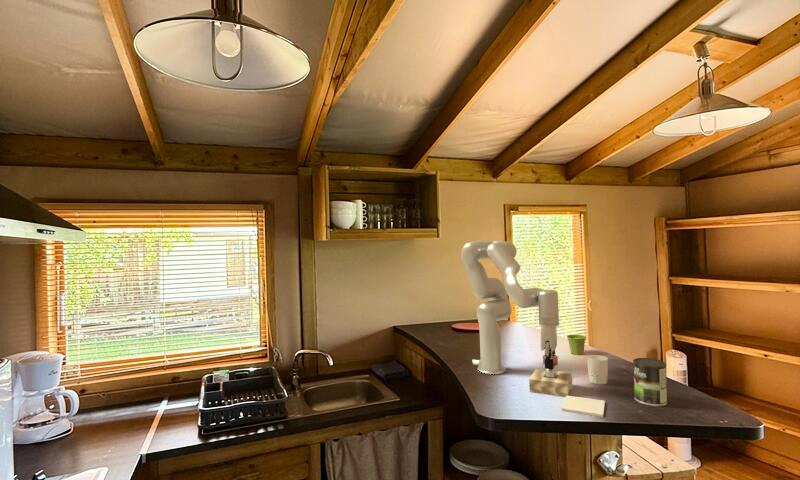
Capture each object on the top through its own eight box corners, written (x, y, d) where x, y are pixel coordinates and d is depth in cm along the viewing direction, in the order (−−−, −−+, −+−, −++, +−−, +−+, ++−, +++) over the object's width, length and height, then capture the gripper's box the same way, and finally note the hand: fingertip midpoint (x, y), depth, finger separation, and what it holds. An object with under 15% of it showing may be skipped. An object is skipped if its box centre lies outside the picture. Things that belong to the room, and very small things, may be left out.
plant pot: (567, 355, 210) (566, 338, 210) (567, 350, 219) (566, 334, 219) (587, 356, 207) (586, 339, 207) (586, 351, 215) (586, 334, 215)
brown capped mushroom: (542, 389, 164) (541, 357, 164) (545, 385, 169) (544, 353, 169) (557, 391, 162) (556, 359, 162) (559, 387, 167) (558, 355, 167)
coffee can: (646, 407, 145) (645, 366, 145) (628, 396, 155) (626, 358, 155) (674, 405, 145) (673, 365, 145) (654, 394, 156) (652, 356, 156)
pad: (561, 410, 144) (561, 408, 144) (566, 397, 156) (566, 395, 156) (603, 417, 138) (603, 414, 138) (604, 402, 150) (604, 400, 150)
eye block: (529, 391, 163) (529, 379, 163) (536, 380, 175) (536, 368, 175) (567, 397, 156) (567, 383, 156) (572, 385, 168) (571, 372, 168)
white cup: (611, 385, 166) (610, 360, 166) (590, 384, 168) (589, 360, 168) (605, 379, 174) (604, 355, 174) (585, 378, 176) (584, 354, 176)
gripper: (542, 316, 175) (544, 359, 175) (534, 324, 160) (536, 371, 160) (561, 317, 171) (563, 361, 171) (555, 326, 156) (557, 374, 156)
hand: (550, 366), depth 166 cm, fingers closed on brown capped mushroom, 5 cm apart
